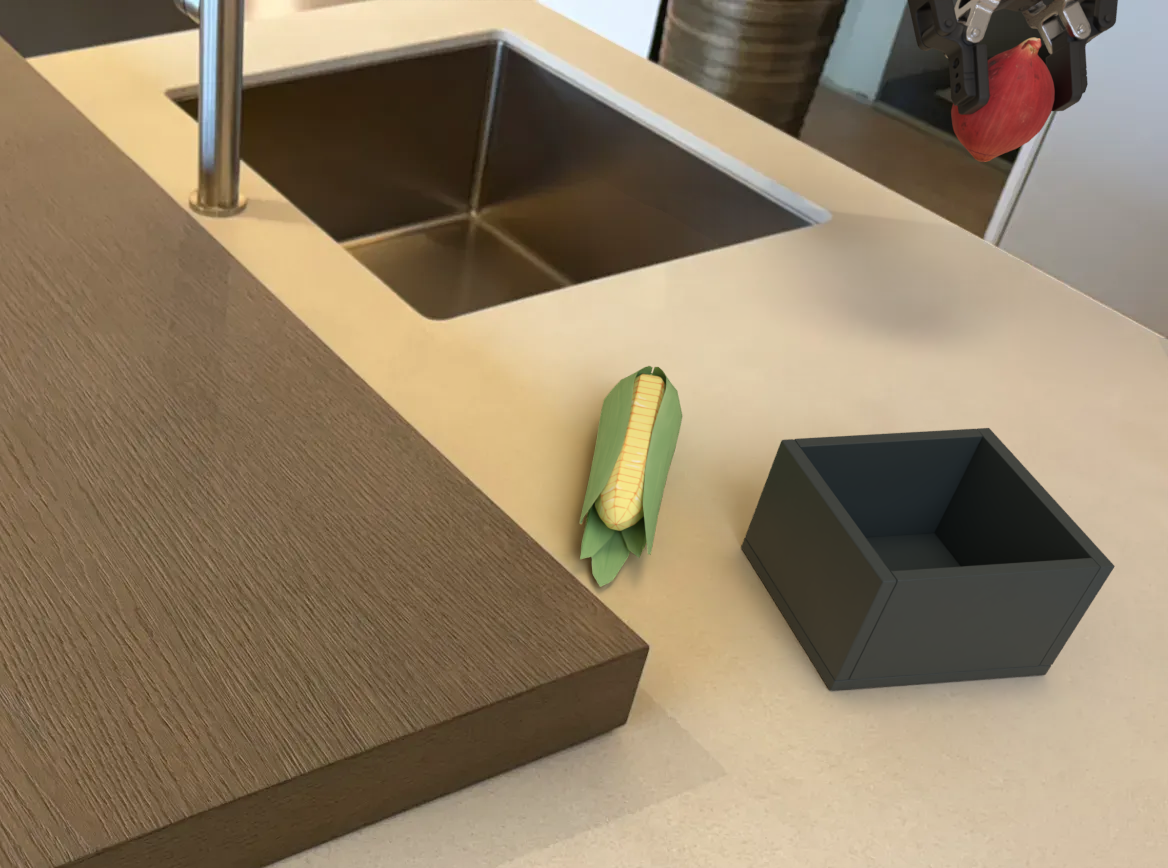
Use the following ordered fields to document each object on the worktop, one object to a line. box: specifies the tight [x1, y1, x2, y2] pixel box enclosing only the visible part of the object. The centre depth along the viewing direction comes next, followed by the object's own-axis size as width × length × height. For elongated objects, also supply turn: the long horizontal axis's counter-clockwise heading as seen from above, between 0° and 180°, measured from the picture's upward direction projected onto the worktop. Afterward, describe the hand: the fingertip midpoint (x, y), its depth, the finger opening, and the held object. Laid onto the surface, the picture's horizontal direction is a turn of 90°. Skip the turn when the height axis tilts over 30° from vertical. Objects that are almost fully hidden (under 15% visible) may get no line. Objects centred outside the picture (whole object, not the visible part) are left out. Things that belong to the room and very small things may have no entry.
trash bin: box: [740, 427, 1116, 692], centre depth 76 cm, size 13×13×8 cm
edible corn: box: [579, 365, 683, 588], centre depth 85 cm, size 5×20×5 cm, turn 161°
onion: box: [950, 36, 1055, 163], centre depth 90 cm, size 6×6×8 cm
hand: (1020, 107), depth 89 cm, fingers closed on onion, 5 cm apart
